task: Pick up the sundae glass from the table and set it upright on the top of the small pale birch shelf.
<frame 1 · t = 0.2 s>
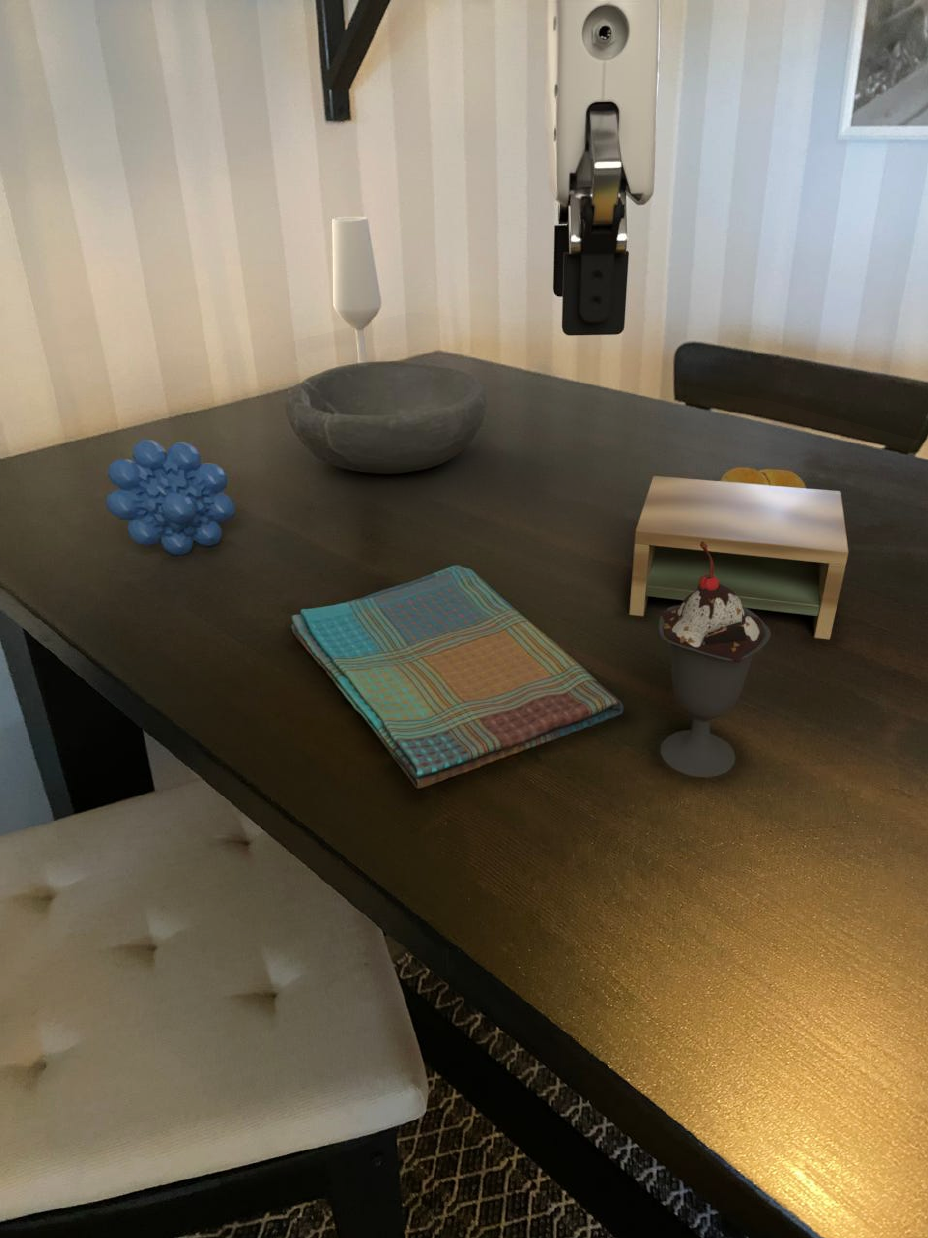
hand: (585, 312, 51), 28 cm above the table, tool pointing down, fingers open, 9 cm apart
sundae: (696, 757, 61), on the table
dish towel: (446, 674, 70), on the table
shelf: (730, 593, 79), on the table
bread roll: (757, 506, 95), on the table
bowl: (393, 466, 108), on the table
champagne flute: (365, 397, 132), on the table
blue flower ornament: (186, 559, 88), on the table
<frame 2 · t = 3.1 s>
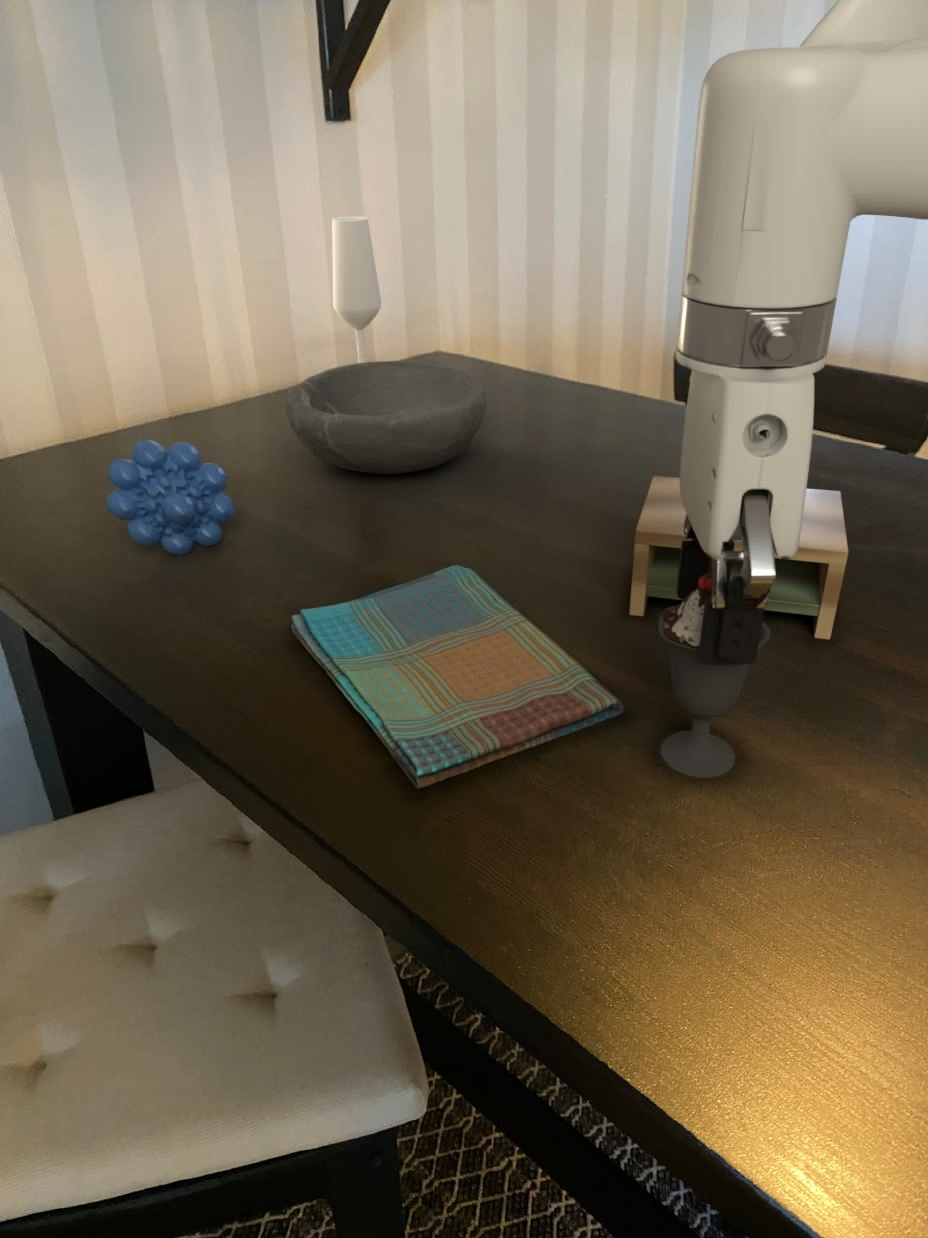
hand: (713, 625, 55), 10 cm above the table, tool pointing down, fingers closed on sundae, 6 cm apart
sundae: (696, 757, 61), on the table, touching gripper
everything else where it was.
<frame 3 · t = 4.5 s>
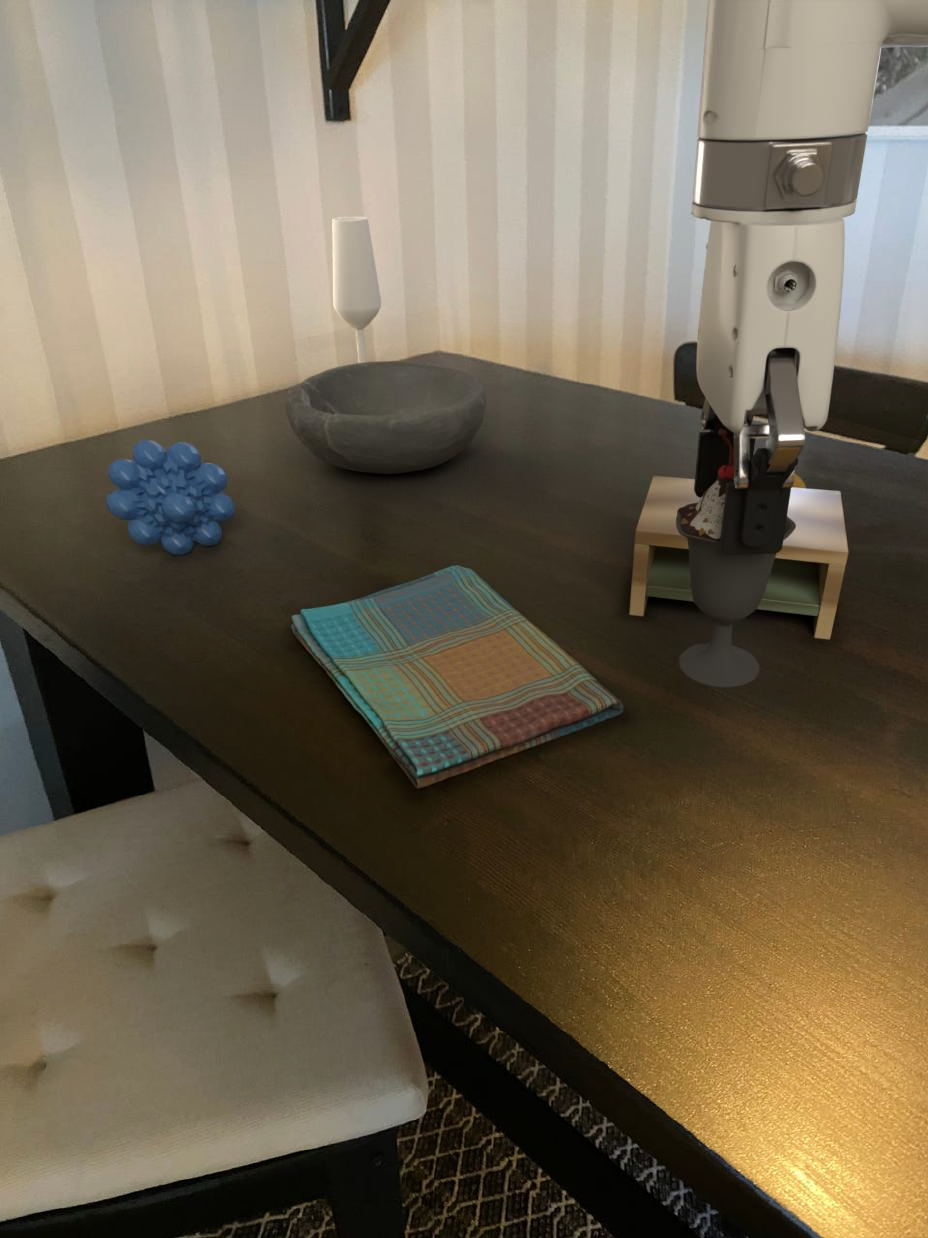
hand: (734, 519, 52), 17 cm above the table, tool pointing down, fingers closed on sundae, 6 cm apart
sundae: (717, 668, 57), point 7 cm above the table, touching gripper
everything else where it was.
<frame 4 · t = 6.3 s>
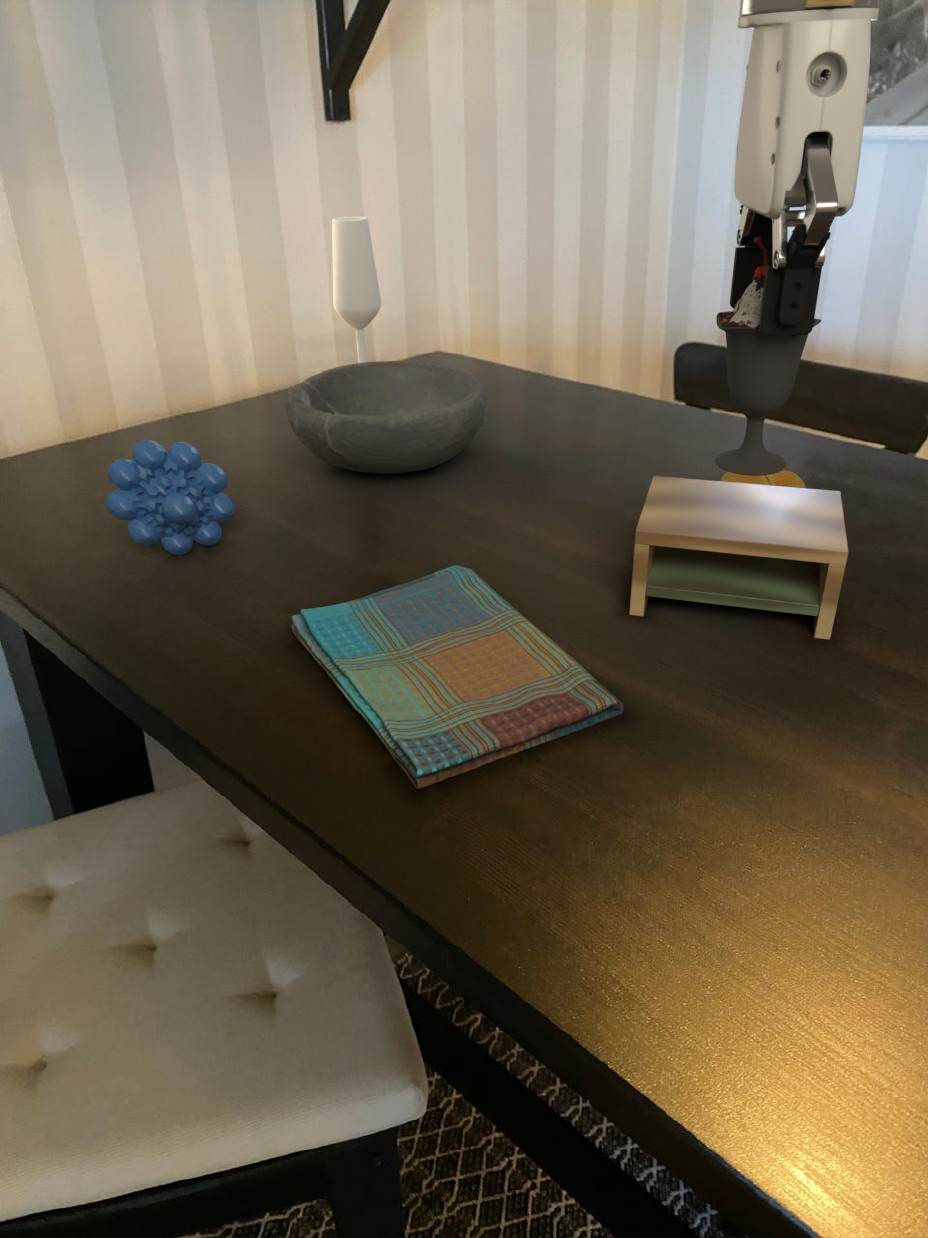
hand: (768, 318, 60), 25 cm above the table, tool pointing down, fingers closed on sundae, 6 cm apart
sundae: (749, 465, 65), point 15 cm above the table, touching gripper
everything else where it was.
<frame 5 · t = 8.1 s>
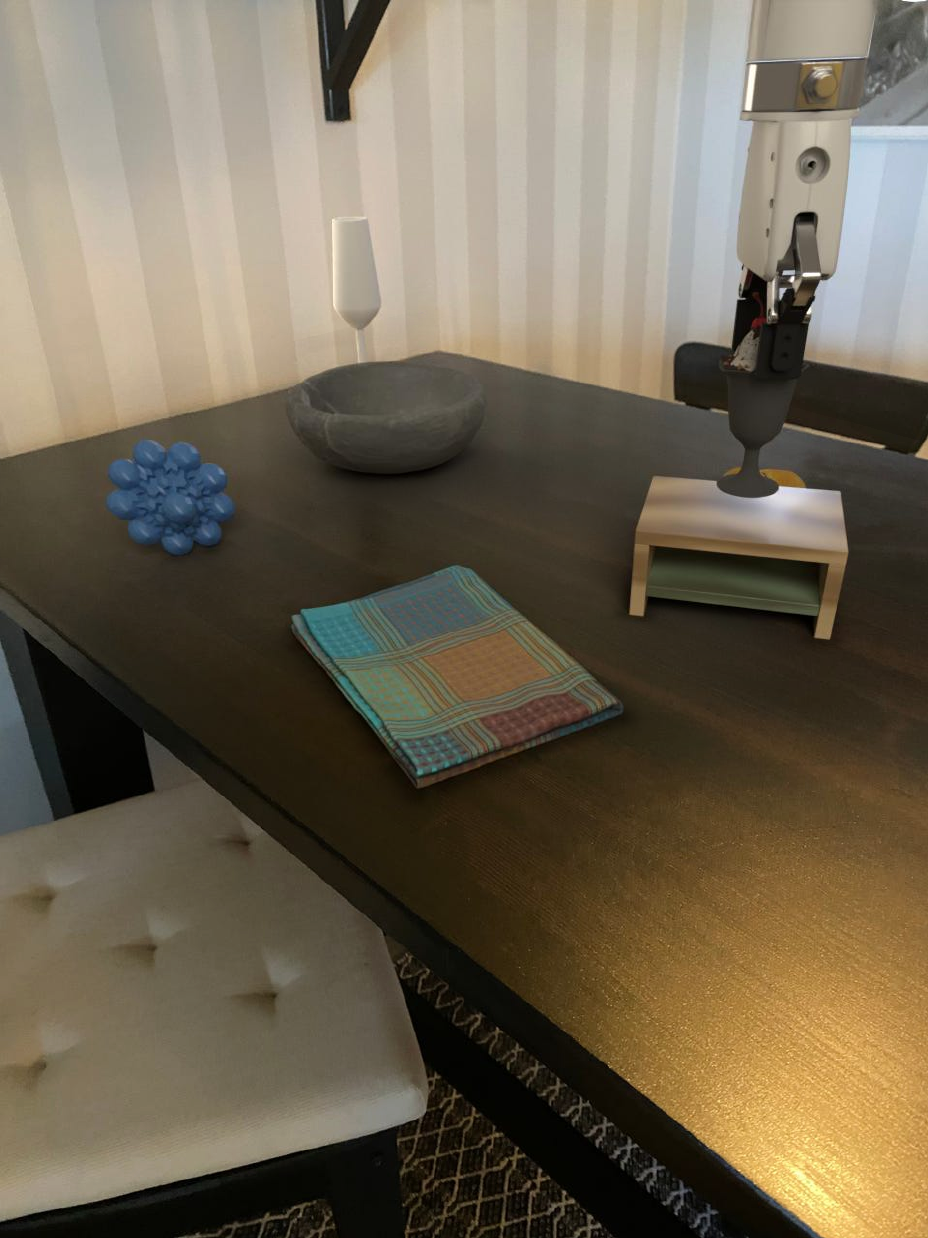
hand: (764, 362, 69), 20 cm above the table, tool pointing down, fingers closed on sundae, 6 cm apart
sundae: (746, 488, 74), point 10 cm above the table, touching gripper
everything else where it was.
when the fingers open (18 cm above the table, at t = 9.4 s): sundae stays where it is, resting on shelf.
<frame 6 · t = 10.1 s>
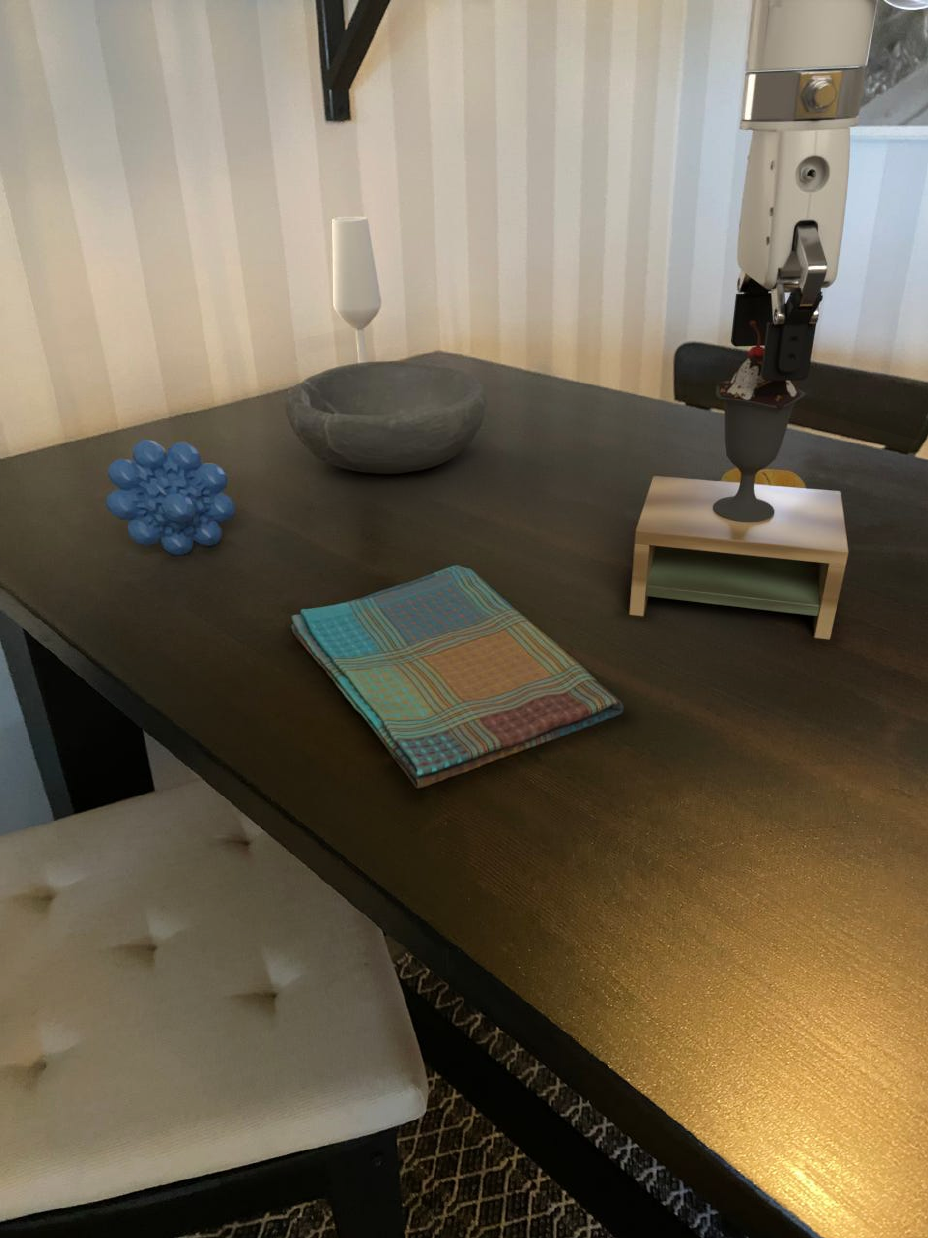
hand: (766, 361, 69), 20 cm above the table, tool pointing down, fingers open, 9 cm apart
sundae: (742, 512, 75), point 8 cm above the table, touching shelf
everything else where it was.
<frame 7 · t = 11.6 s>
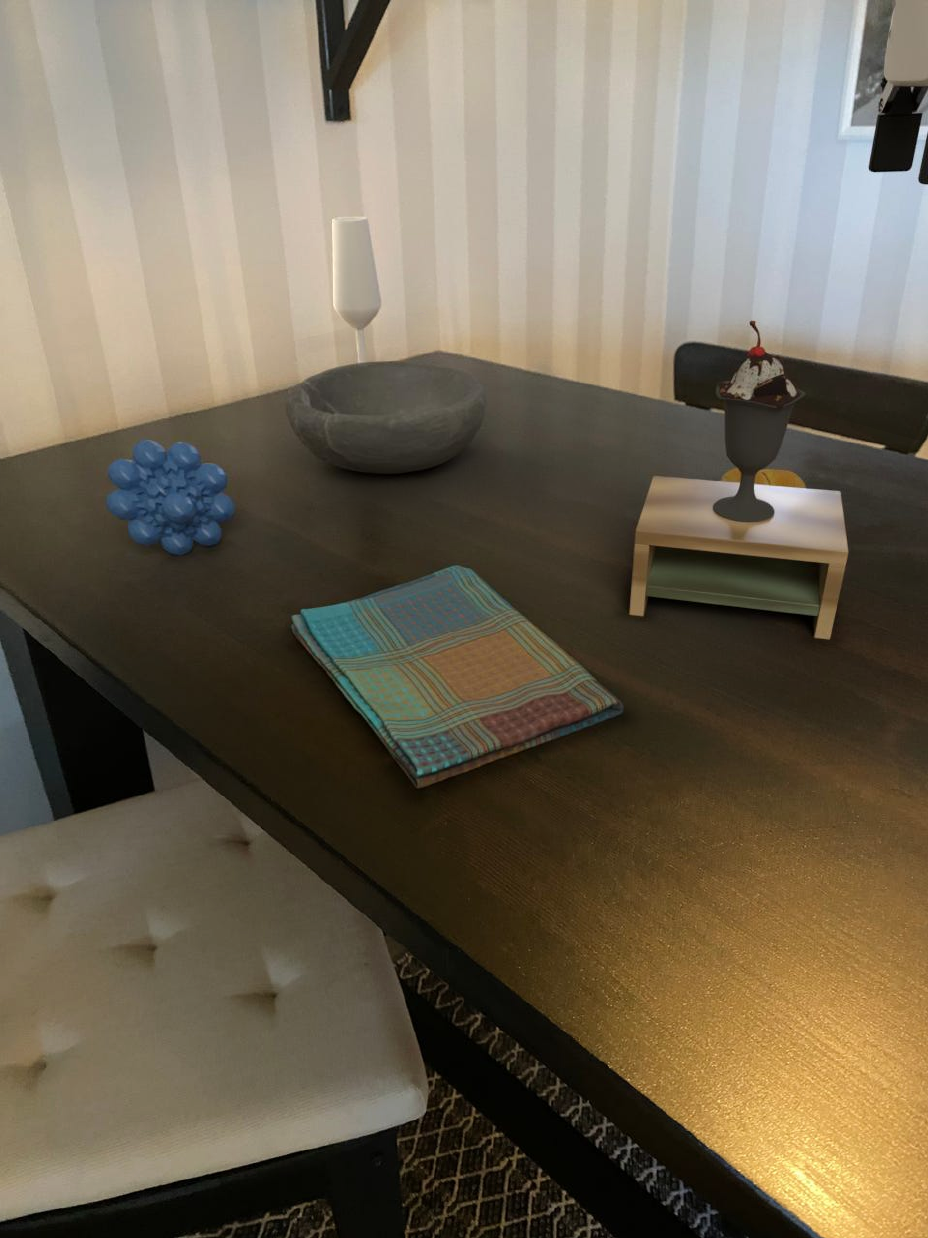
hand: (913, 176, 67), 32 cm above the table, tool pointing down, fingers open, 9 cm apart
nothing on the table moved.
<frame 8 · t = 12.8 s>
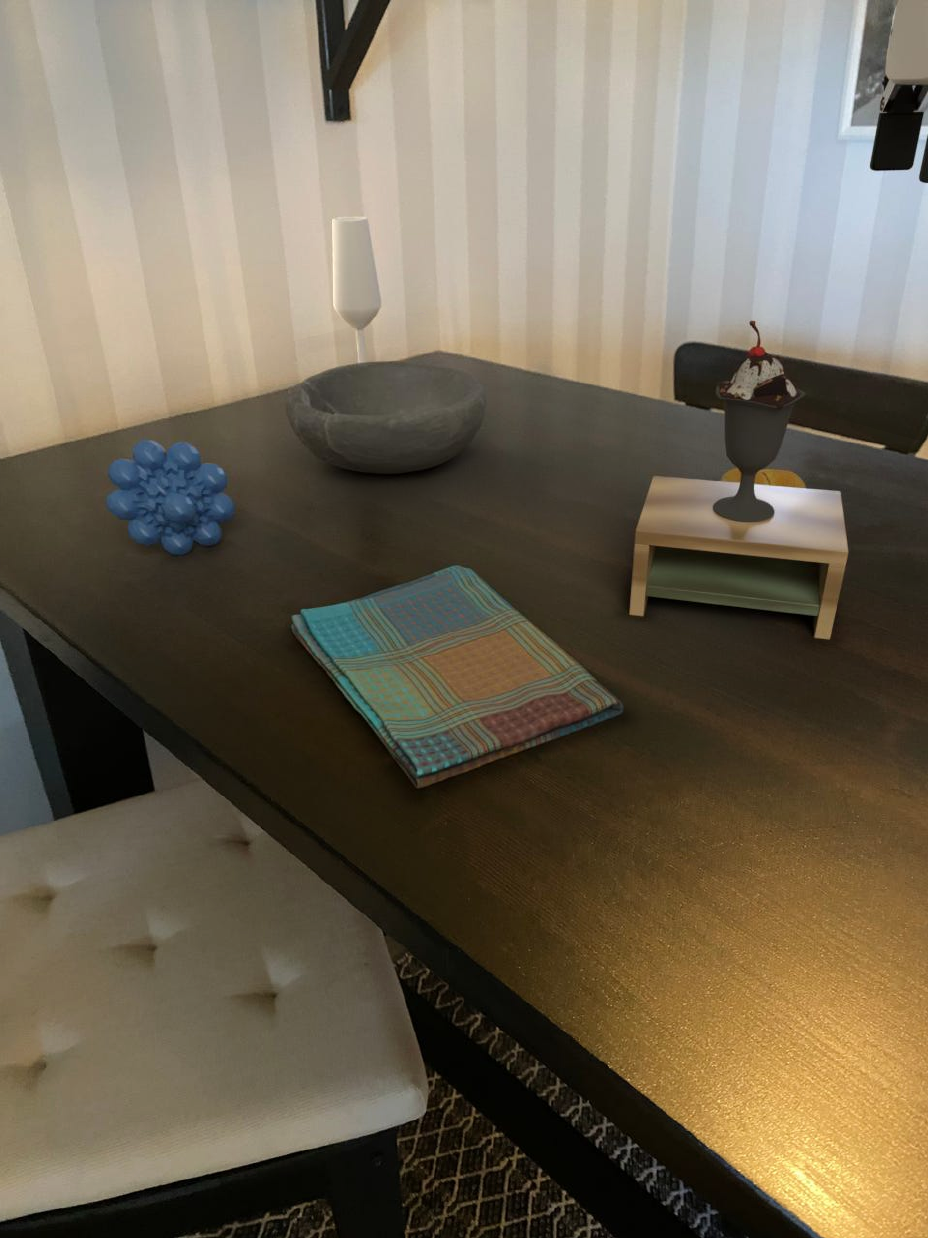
hand: (914, 175, 67), 32 cm above the table, tool pointing down, fingers open, 9 cm apart
nothing on the table moved.
at the end: sundae inside the target area on the shelf (0.1 cm from its centre), point 7.8 cm above the shelf's base; sundae tilted 0° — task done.
